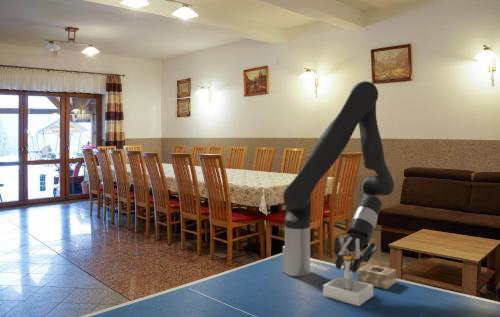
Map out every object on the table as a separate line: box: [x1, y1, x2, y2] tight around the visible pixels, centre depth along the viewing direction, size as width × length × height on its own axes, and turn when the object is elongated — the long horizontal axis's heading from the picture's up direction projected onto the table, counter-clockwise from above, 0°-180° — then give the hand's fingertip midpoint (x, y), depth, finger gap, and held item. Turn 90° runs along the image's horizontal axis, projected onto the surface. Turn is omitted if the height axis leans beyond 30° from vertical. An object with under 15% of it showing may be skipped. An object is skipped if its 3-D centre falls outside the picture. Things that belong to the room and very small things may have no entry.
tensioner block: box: [357, 263, 397, 290], centre depth 142 cm, size 10×8×4 cm
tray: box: [322, 276, 374, 307], centre depth 130 cm, size 12×10×4 cm
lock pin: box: [343, 253, 355, 292], centre depth 130 cm, size 3×3×12 cm
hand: (345, 269), depth 128 cm, fingers open, 4 cm apart
